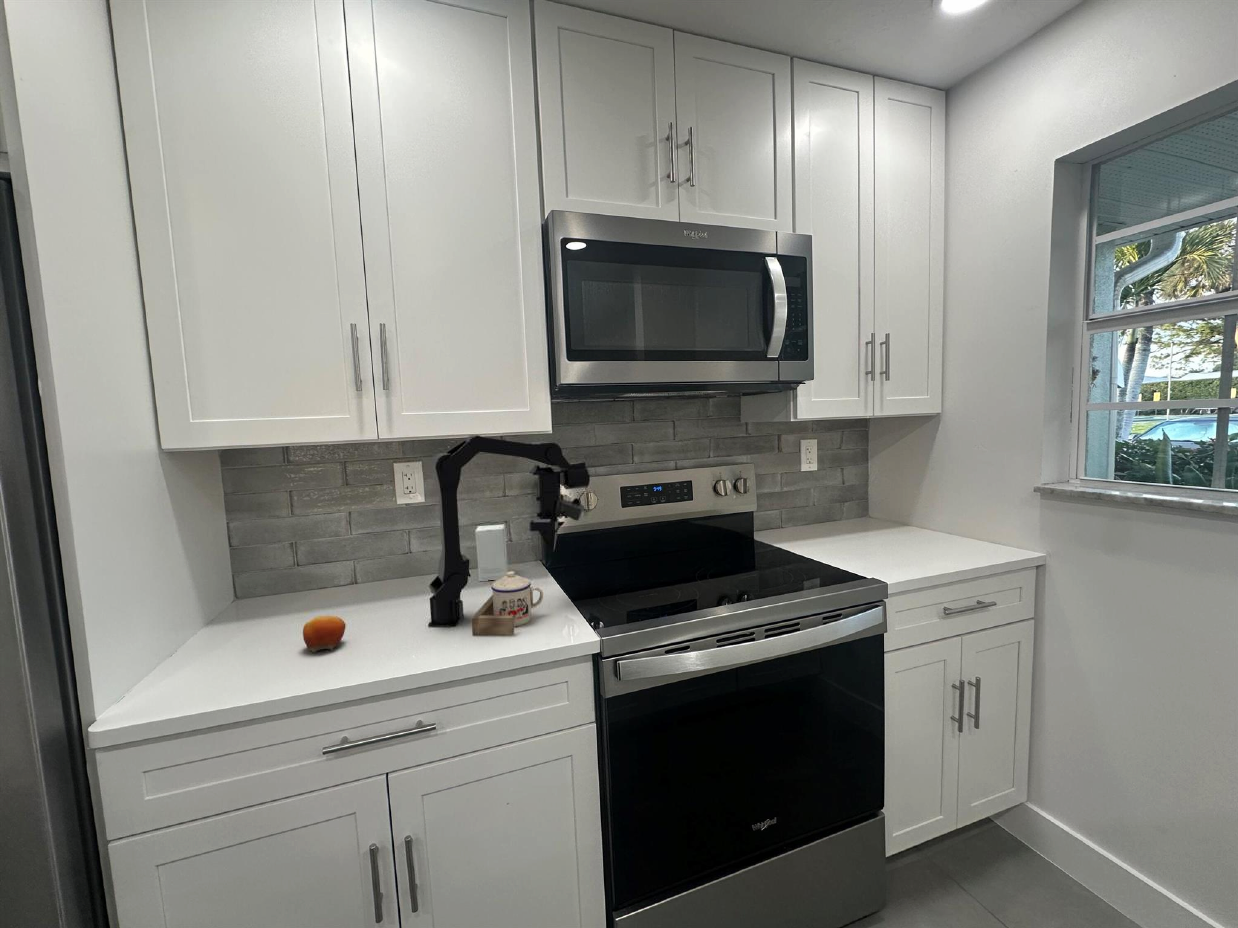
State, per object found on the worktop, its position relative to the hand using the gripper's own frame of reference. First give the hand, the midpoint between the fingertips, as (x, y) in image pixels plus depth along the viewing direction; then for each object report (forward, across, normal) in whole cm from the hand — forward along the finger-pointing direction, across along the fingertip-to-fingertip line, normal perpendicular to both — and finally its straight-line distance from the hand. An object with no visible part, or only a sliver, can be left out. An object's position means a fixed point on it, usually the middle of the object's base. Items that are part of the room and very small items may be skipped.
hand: (551, 551), depth 140 cm
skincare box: (+13, +19, +23) cm, 32 cm away
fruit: (+13, -30, +43) cm, 54 cm away
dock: (+13, -13, +9) cm, 20 cm away
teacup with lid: (+13, -13, +6) cm, 19 cm away
